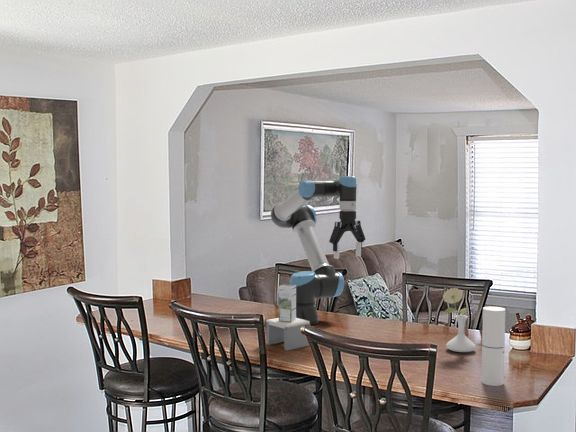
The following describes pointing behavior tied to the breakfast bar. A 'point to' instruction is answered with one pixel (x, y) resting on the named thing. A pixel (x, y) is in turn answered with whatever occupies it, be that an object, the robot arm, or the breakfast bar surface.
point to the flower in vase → (460, 341)
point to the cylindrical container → (493, 346)
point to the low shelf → (286, 333)
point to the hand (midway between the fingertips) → (347, 257)
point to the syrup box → (287, 303)
